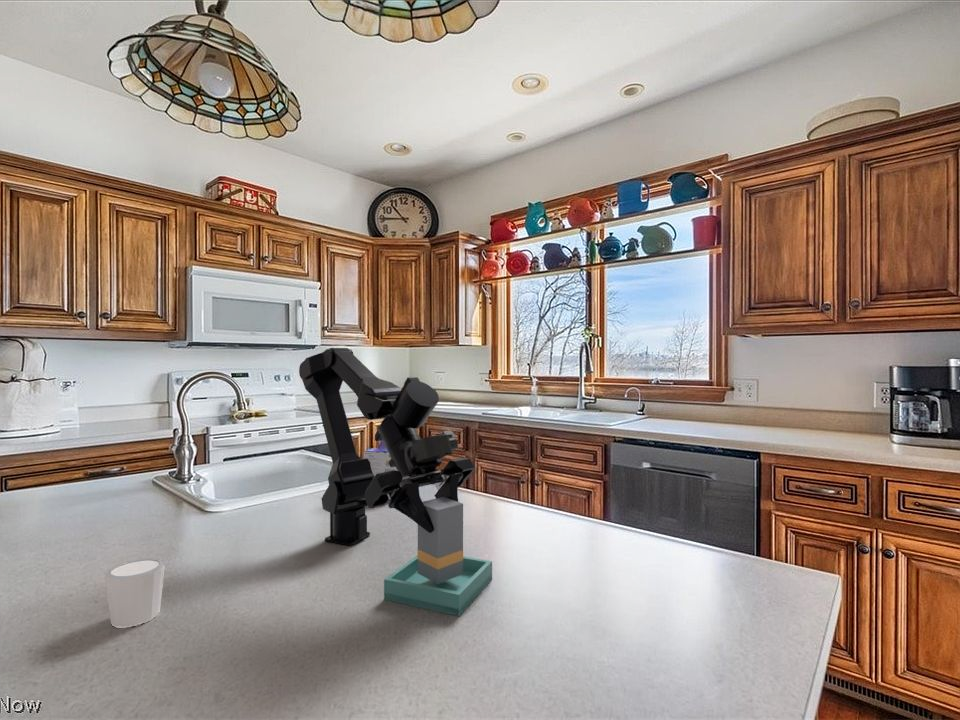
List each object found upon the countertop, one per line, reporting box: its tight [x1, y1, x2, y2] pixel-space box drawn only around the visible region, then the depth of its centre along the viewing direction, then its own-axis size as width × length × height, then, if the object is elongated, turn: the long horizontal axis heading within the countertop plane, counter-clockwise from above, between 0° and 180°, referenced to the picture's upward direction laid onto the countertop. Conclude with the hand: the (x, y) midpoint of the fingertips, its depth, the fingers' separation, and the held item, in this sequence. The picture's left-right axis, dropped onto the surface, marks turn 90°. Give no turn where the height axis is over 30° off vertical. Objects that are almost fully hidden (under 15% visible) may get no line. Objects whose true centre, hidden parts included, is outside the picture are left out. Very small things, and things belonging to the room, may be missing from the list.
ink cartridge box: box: [363, 440, 397, 500], centre depth 129 cm, size 10×6×14 cm, turn 78°
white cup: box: [104, 558, 166, 627], centre depth 69 cm, size 7×7×7 cm
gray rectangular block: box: [417, 497, 464, 584], centre depth 77 cm, size 5×5×11 cm
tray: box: [383, 554, 493, 617], centre depth 78 cm, size 12×12×3 cm
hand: (445, 527), depth 76 cm, fingers closed on gray rectangular block, 5 cm apart
